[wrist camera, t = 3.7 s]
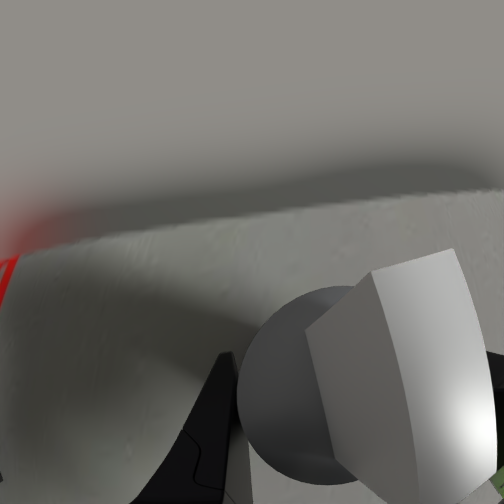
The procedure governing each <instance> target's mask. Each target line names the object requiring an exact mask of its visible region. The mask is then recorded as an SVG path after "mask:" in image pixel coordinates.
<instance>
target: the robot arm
mask: <svg viewBox="0 0 504 504" xmlns="http://www.w3.org/2000/svg"><path fill="white" fill-rule="evenodd" d="M486 355H487V359H488V365H489V370H490V376H491V382H492V389H493V397H494V406H495V417H496V433H497V469H496V473H495V474H493V475H492V476H491V477H490V478H489V480H490V482H491V483H492V485H493V486H494V488H495V489H496V491H497V492H498V494H499V493H500V494H501V496H502V497H503V499H502V500H501V501H500V502H499V503H498V504H504V355H500V354H496V353H492V352H488V351H486ZM238 377H239V375H238V370H237V366H236V363H235V359H234V355H233V352H232V351H229V352H223V353H220V354H219V356H218V358H217V360H216V362H215V364H214V366H213V368H212V370H211V372H210V374H209V376H208V378H207V380H206V382H205V384H204V386H203V388H202V390H201V392H200V394H199V396H198V398H197V400H196V402H195V404H194V406H193V408H192V410H191V412H190V414H189V416H188V418H187V420H186V422H185V424H184V426H183V428H182V429H183V430H181V431H180V433H179V435H178V437H177V439H176V441H175V443H174V445H173V446H172V448H171V450H170V452H169V453H168V455H167V456H166V458H165V459H164V461H163V462H162V464H161V465H160V466H159V468H158V469H157V471H156V472H155V473H154V475H153V476H152V477H151V479H150V480H149V482H148V483H147V484H146V486H145V487H144V488H143V490H142V491H141V492H140V494H139V495H138V496H137V497H136V498H135V499H134V500H133V501H132V502H131V503H129V504H253V497H252V485H251V472H250V459H249V445H248V439H247V437H246V434H245V432H244V430H243V427H242V424H241V421H240V418H239V412H238V406H237V385H238ZM485 482H486V481H485ZM485 482H484V483H485ZM484 483H483V484H484ZM478 488H479V487H478ZM473 492H474V491H473ZM469 495H470V494H469ZM461 501H462V500H461Z"/></svg>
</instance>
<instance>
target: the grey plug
mask: <svg viewBox="0 0 504 504" xmlns="http://www.w3.org/2000/svg"><path fill="white" fill-rule="evenodd" d="M237 406H238V412H239V418H240V421H241V424H242V427H243V430H244V432H245V434H246V437H247V439H248V441H249V443H250V444H251V445H252V447H253V448H254V450H255V451H256V452H257V454H258V455H259V456H260V457H261V458H262V459H263V460H264V461H265V462H266V463H267V464H268V465H270V466H271V467H272V468H274V469H275V470H276V471H278V472H280V473H282V474H283V475H285V476H287V477H289V478H292V479H295V480H298V481H300V482H305V483H309V484H315V485H338V484H345V483H349V482H354V481H357V480H360V481H361V482H362V483H363V484H364V485H366V486H367V487H368V488H369V489H370V490H372V491H373V492H374V493H375V494H377V495H378V496H379V497H380V498H382V499H383V500H384V501H385V502H387V503H388V504H457V503H459V502H460V501H461V500H463V499H464V498H466V497H467V496H468V495H469V494H471V493H472V492H473V491H475V490H476V489H477V488H478V487H480V486H481V485H482V484H483V483H484V482H485V481H487V480H488V479H489V478H490V477H491V476H492V475H493V474H495V473H496V469H497V433H496V417H495V406H494V397H493V389H492V382H491V376H490V370H489V365H488V359H487V355H486V350H485V345H484V341H483V337H482V333H481V329H480V325H479V322H478V318H477V315H476V311H475V308H474V305H473V301H472V298H471V295H470V292H469V289H468V286H467V283H466V281H465V278H464V275H463V272H462V270H461V267H460V265H459V262H458V259H457V257H456V255H455V252H454V250H453V248H451V249H448V250H445V251H442V252H438V253H435V254H431V255H428V256H425V257H421V258H418V259H414V260H411V261H407V262H403V263H400V264H396V265H392V266H389V267H385V268H381V269H377V270H374V271H370V272H369V273H368V274H367V275H366V276H365V277H364V278H363V279H362V280H361V281H360V282H359V283H358V284H357V285H356V286H355V287H353V286H334V287H328V288H322V289H318V290H315V291H312V292H309V293H306V294H304V295H302V296H300V297H298V298H296V299H294V300H292V301H291V302H289V303H288V304H286V305H284V306H283V307H282V308H281V309H279V310H278V311H277V312H276V313H274V314H273V315H272V316H271V317H270V318H269V319H268V320H267V321H266V322H265V323H264V325H263V326H262V327H261V329H260V330H259V331H258V333H257V334H256V335H255V337H254V339H253V340H252V342H251V344H250V345H249V347H248V349H247V352H246V354H245V357H244V359H243V361H242V365H241V369H240V372H239V377H238V385H237Z"/></svg>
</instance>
